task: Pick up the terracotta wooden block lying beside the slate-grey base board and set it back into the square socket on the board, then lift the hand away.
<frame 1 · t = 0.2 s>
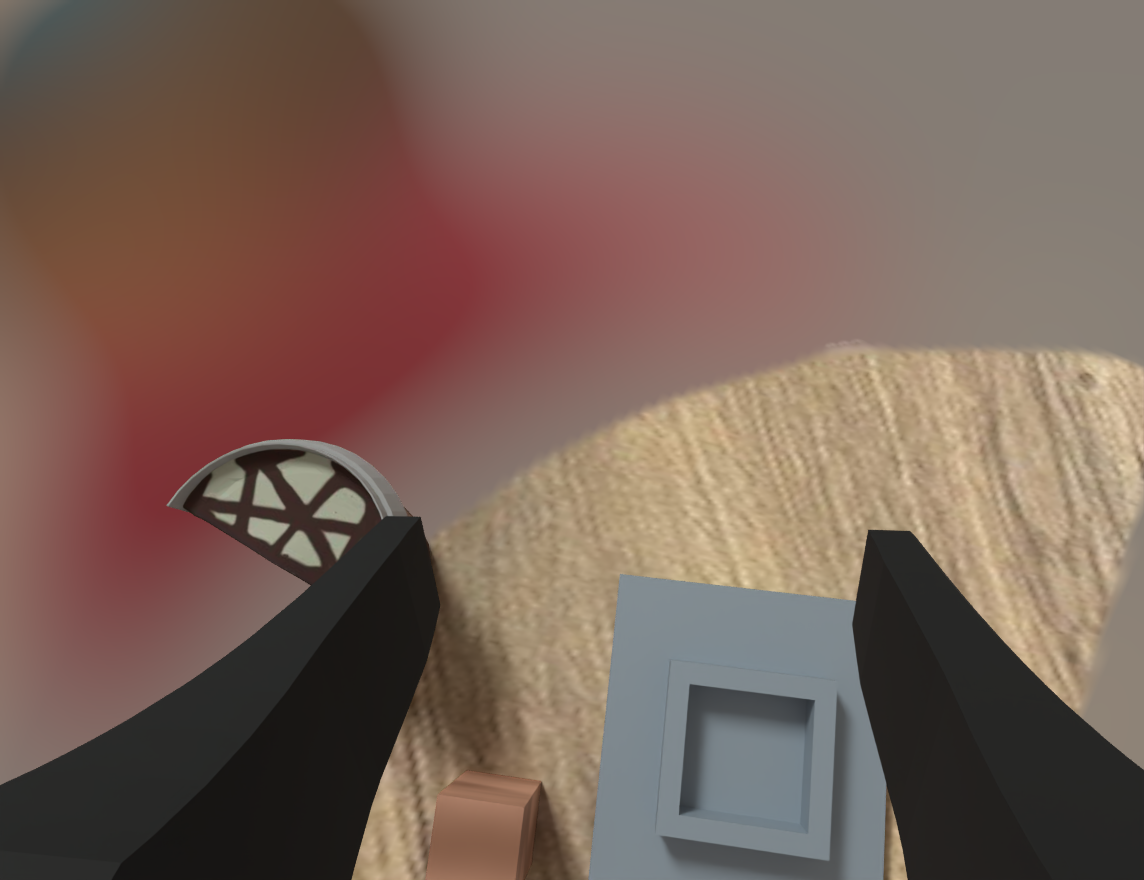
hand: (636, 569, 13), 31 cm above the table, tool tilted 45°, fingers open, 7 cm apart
terracotta block: (498, 816, 41), on the table
food container: (378, 529, 45), on the table
base board: (740, 747, 41), on the table
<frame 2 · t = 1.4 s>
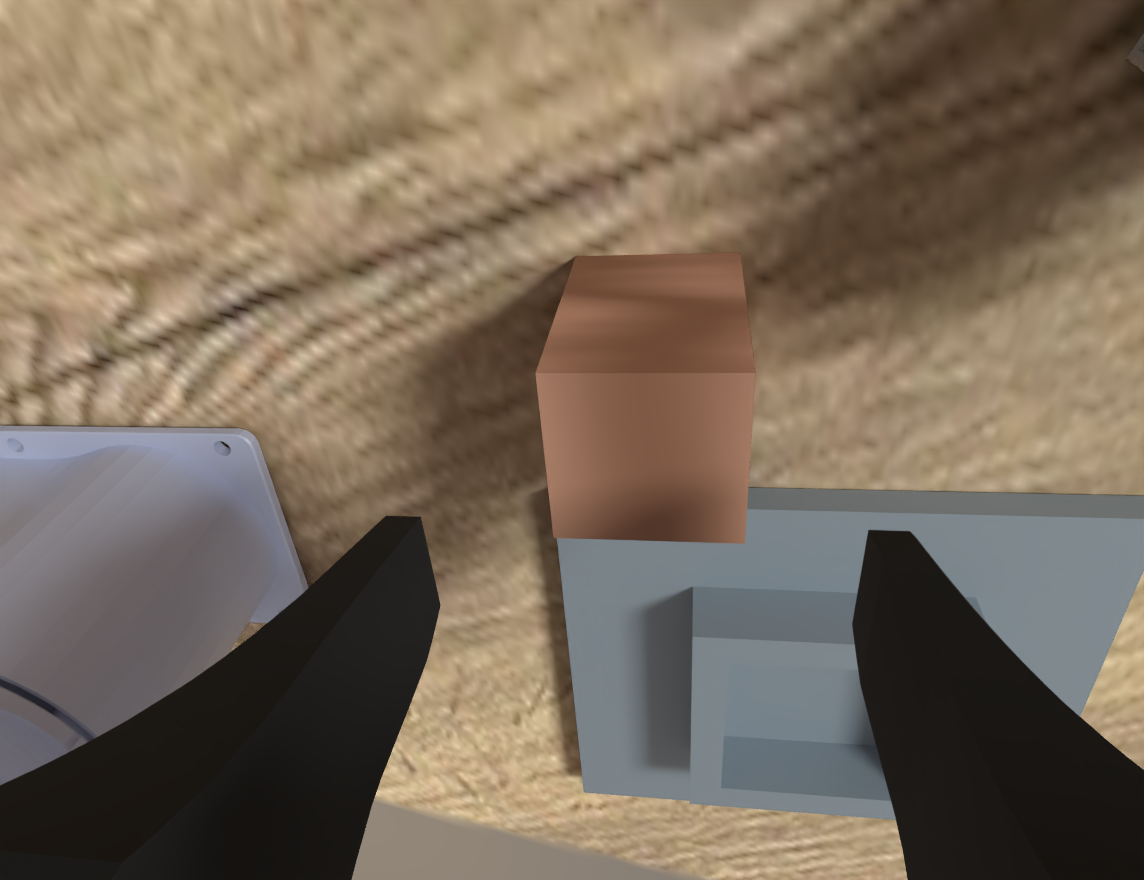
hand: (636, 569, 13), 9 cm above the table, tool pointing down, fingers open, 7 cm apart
terracotta block: (657, 328, 20), on the table
base board: (813, 658, 26), on the table
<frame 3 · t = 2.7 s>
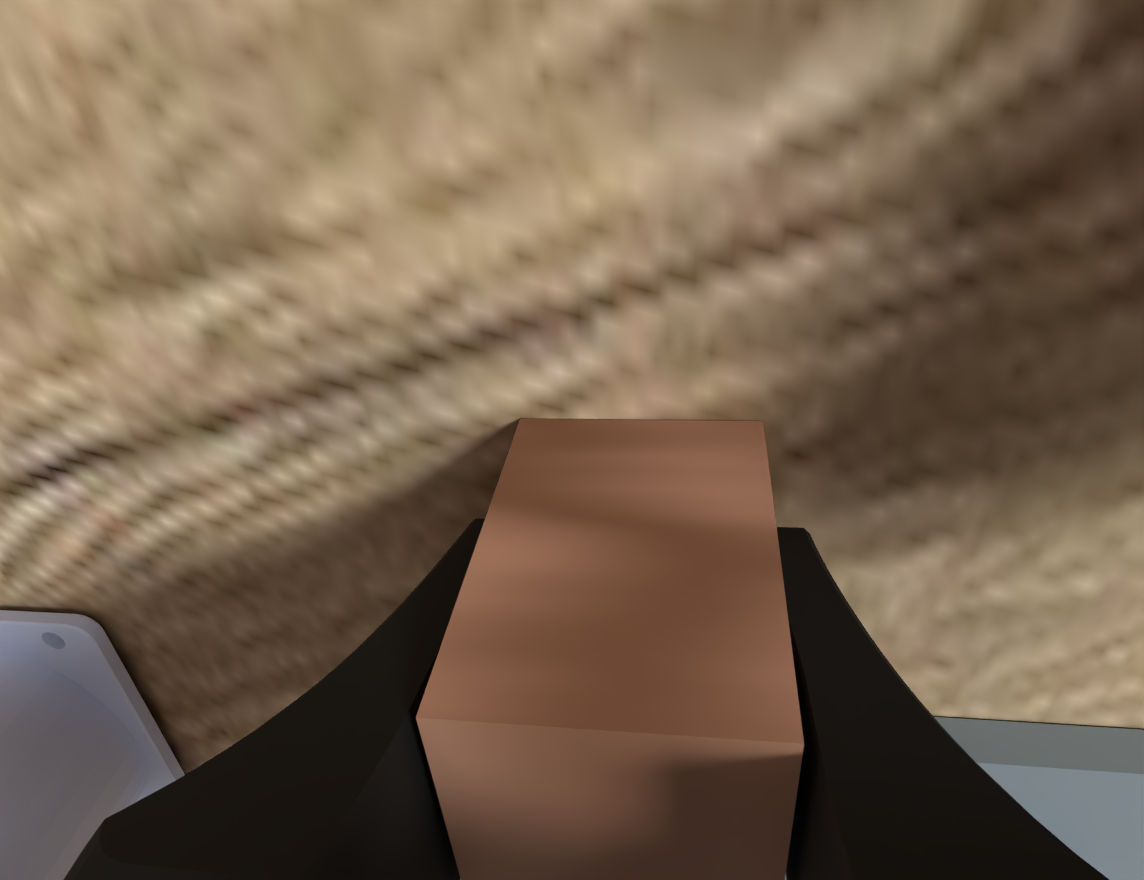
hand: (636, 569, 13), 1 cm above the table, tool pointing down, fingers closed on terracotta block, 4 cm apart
terracotta block: (641, 514, 14), on the table, touching gripper
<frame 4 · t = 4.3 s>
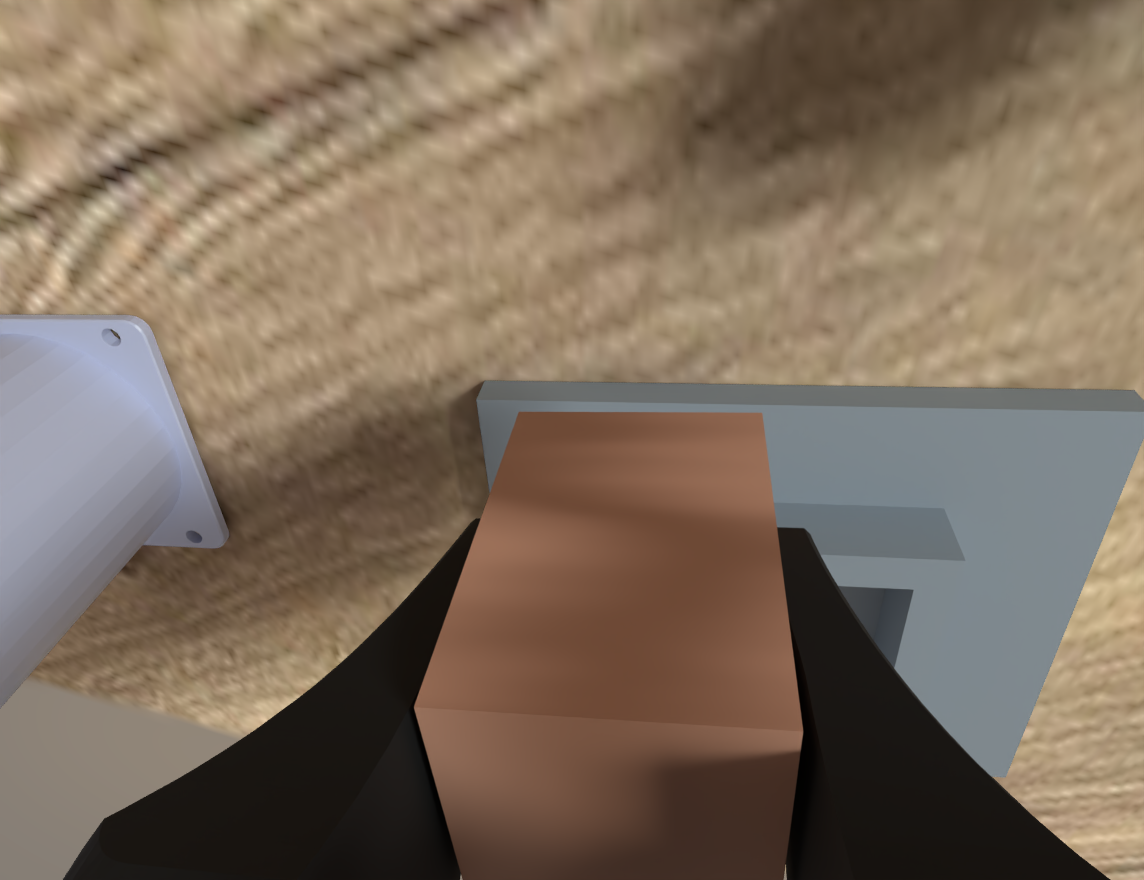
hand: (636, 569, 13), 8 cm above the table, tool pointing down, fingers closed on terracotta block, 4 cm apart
terracotta block: (641, 507, 14), point 7 cm above the table, touching gripper
base board: (769, 586, 24), on the table
when the fingers open (4 cm above the table, at t = 6.1 s): terracotta block drops 1 cm, resting on base board.
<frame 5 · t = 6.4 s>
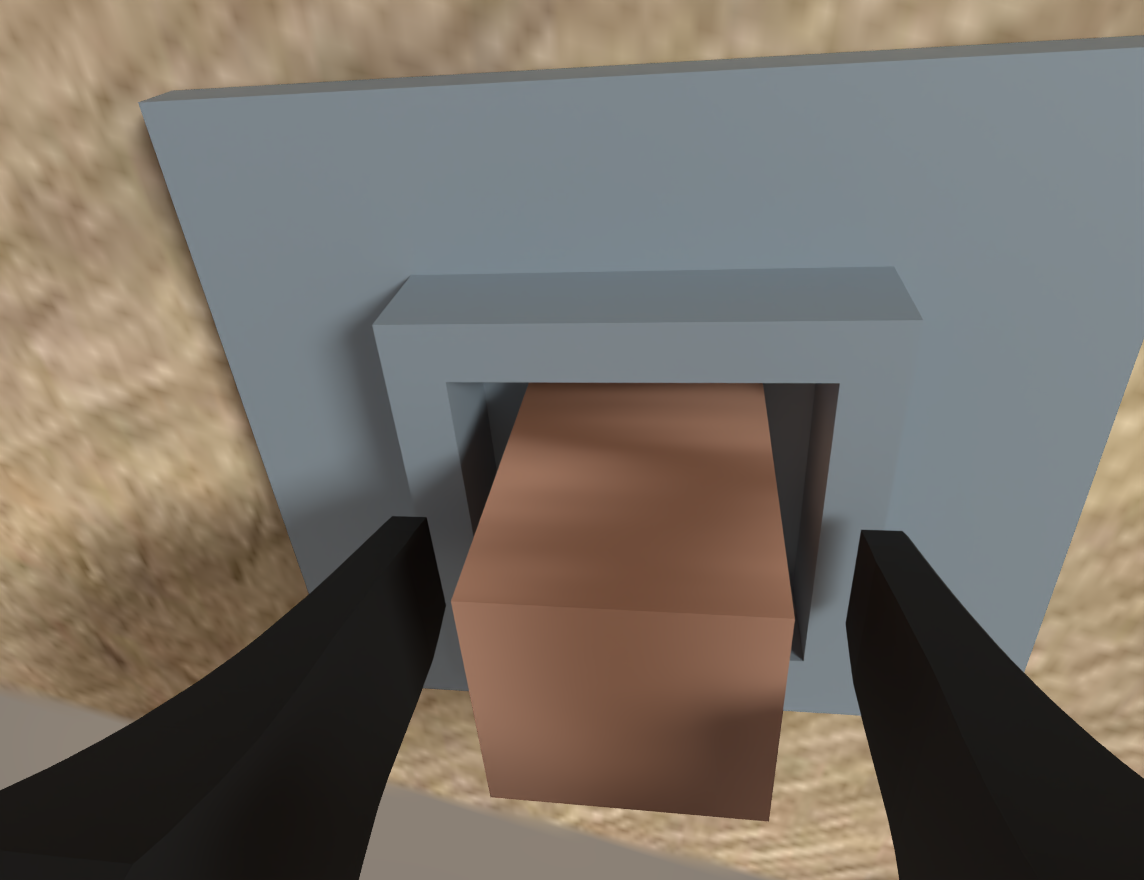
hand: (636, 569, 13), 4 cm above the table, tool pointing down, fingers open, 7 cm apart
terracotta block: (646, 456, 15), point 1 cm above the table, touching base board
base board: (649, 438, 16), on the table
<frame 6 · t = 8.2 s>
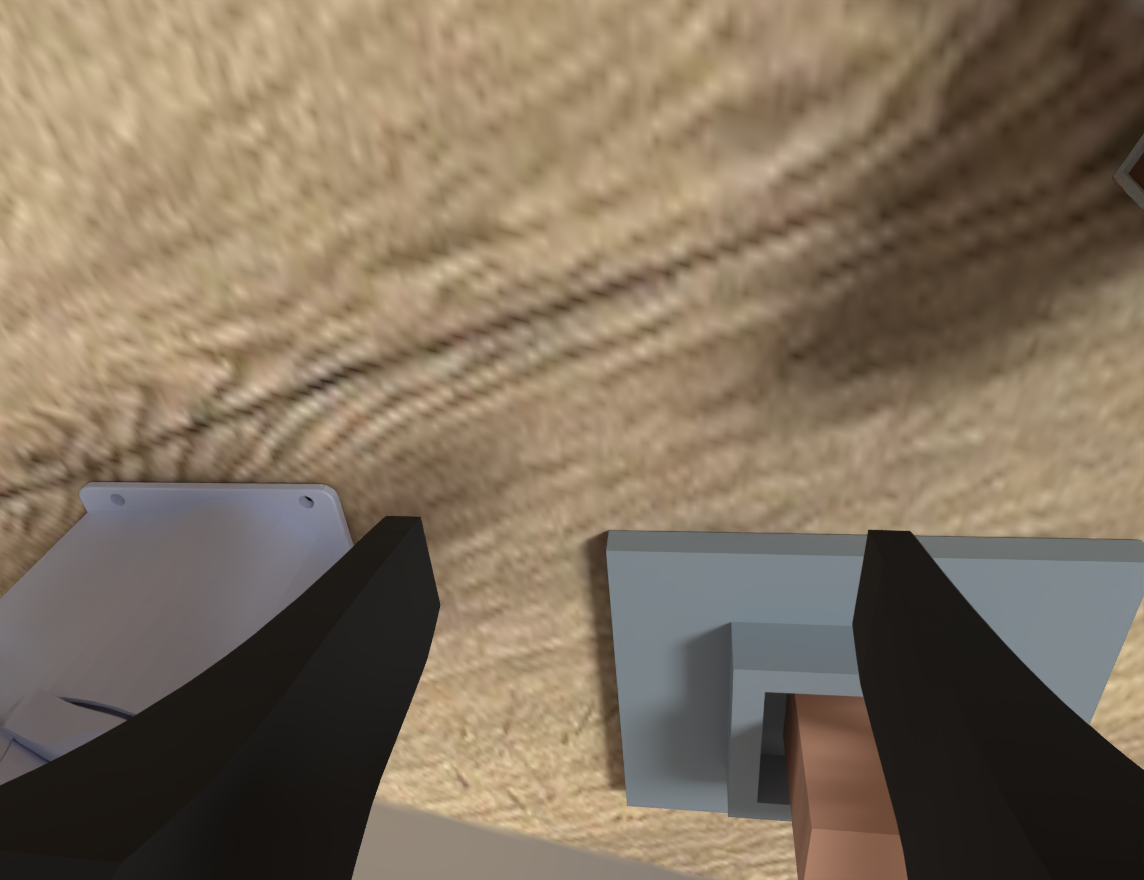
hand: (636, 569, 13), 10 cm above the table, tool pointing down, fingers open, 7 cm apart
terracotta block: (845, 701, 28), point 1 cm above the table, touching base board
base board: (840, 683, 29), on the table
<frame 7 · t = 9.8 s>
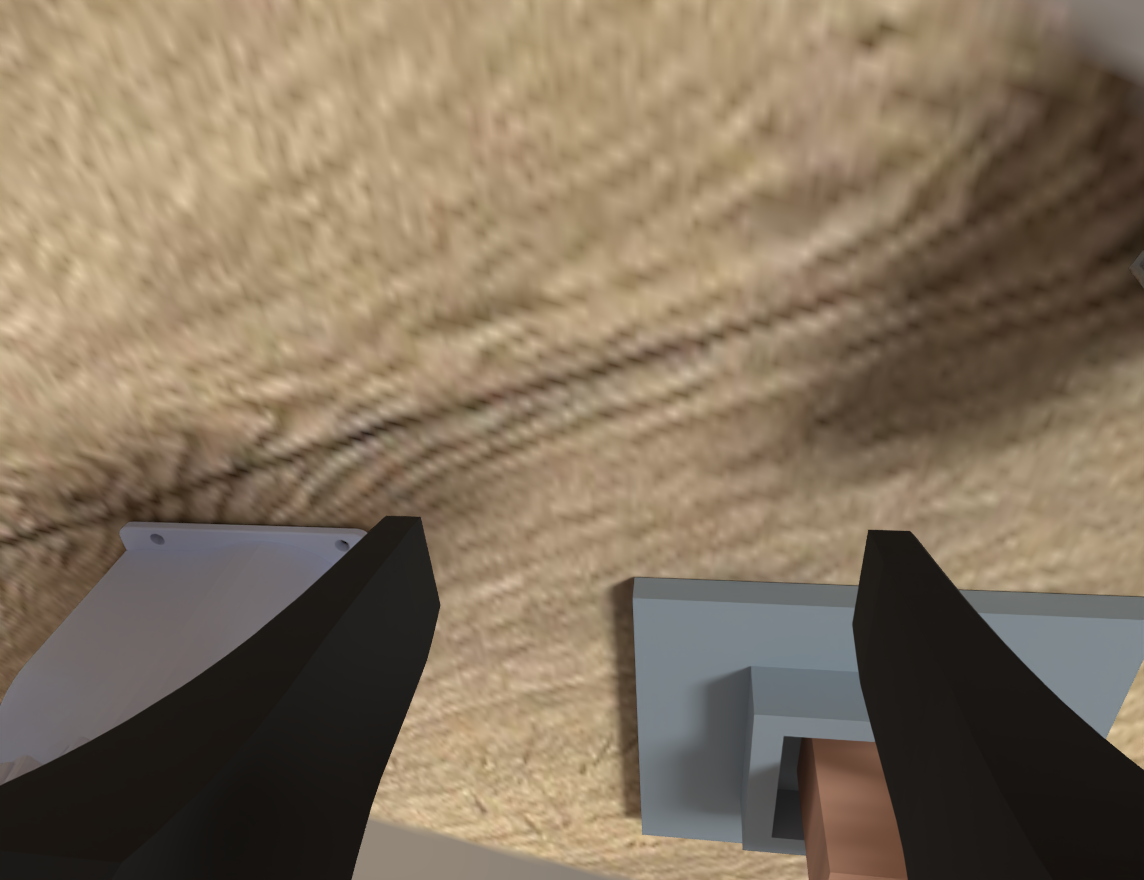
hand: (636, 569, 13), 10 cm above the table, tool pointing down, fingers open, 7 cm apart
terracotta block: (858, 742, 29), point 1 cm above the table, touching base board
base board: (852, 723, 30), on the table
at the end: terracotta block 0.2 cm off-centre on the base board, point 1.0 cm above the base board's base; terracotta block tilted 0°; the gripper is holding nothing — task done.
